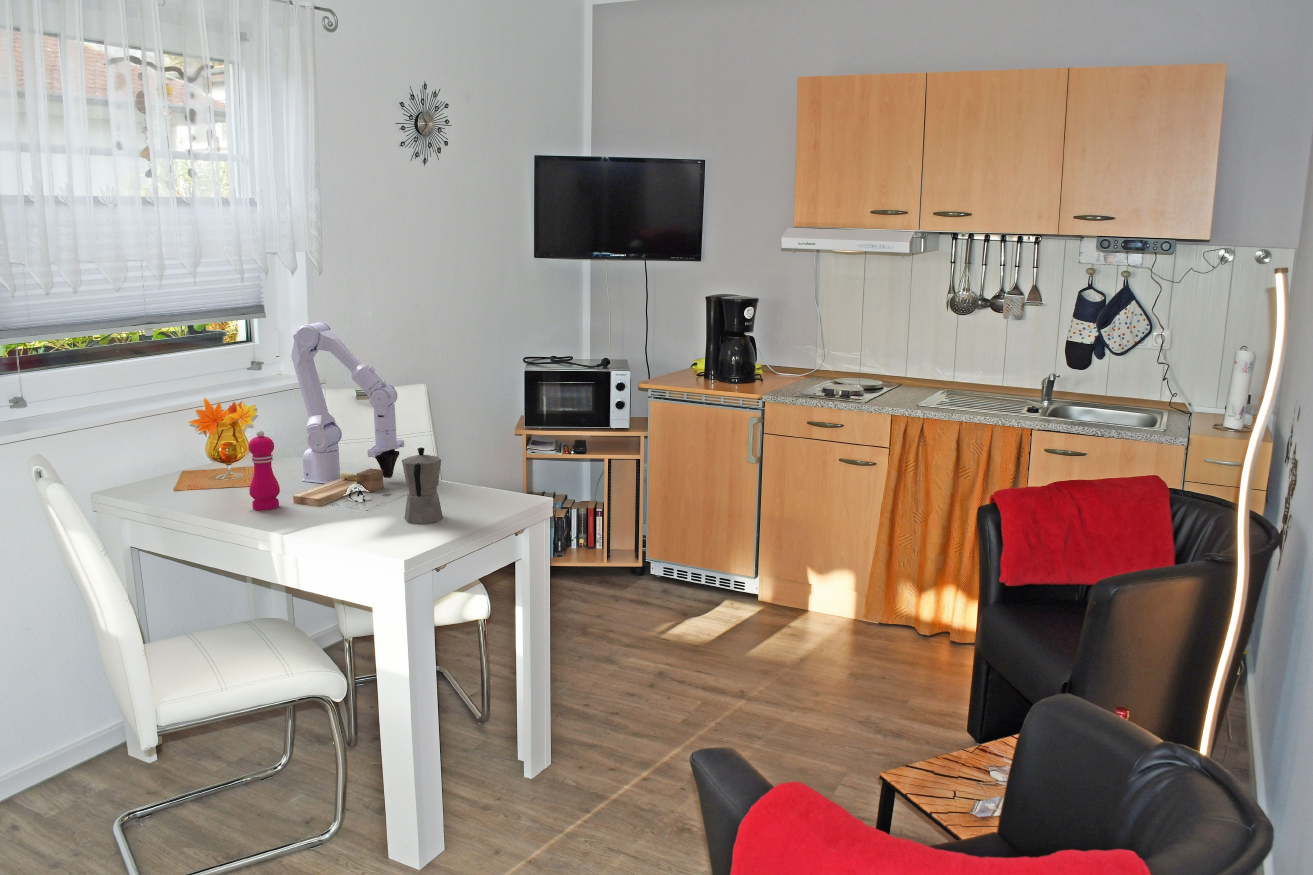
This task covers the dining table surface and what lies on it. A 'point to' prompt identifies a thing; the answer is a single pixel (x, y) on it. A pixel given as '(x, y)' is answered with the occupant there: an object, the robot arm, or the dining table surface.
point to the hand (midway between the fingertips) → (387, 477)
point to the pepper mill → (263, 474)
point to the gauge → (367, 479)
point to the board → (324, 493)
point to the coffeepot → (422, 488)
